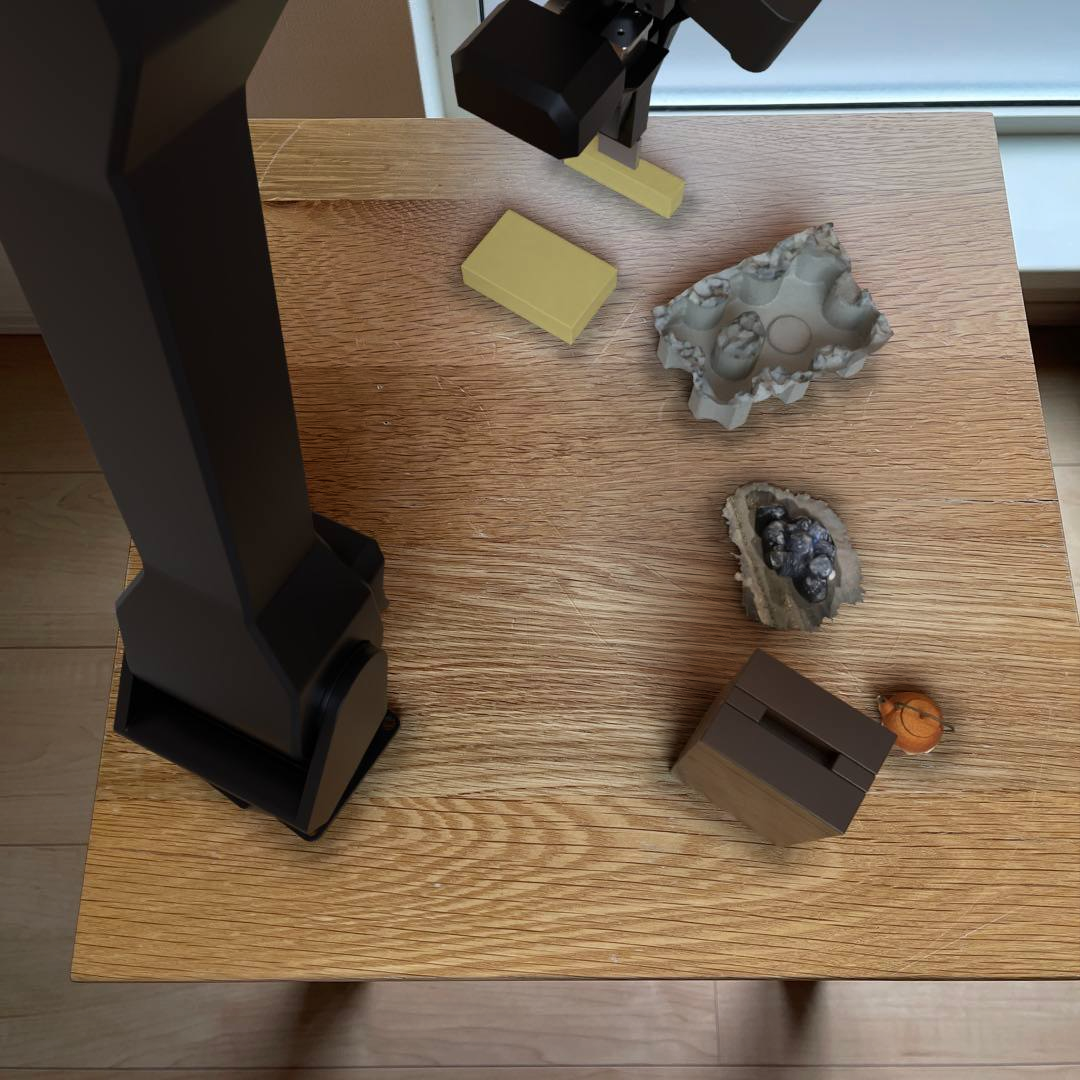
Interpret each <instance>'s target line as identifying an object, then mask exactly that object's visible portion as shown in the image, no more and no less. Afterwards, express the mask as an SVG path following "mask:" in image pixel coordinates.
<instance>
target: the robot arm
mask: <svg viewBox="0 0 1080 1080" xmlns="http://www.w3.org/2000/svg"><path fill="white" fill-rule="evenodd" d="M822 1H823V0H547V1H546V2H545V3H544V4H543V6H542V5H540V4H538V3H537V2H534V1H532V0H503V1H501V2H500V3H498V4H497V5H496V6H495V7H494V8H493V10H491V11H490V13H489V14H488V15H487V16H486V17H485V18H484V19H482V21H481V22H480V23H479V24H478V25H477V27H476V28H474V29H473V30H472V32H471V33H470V34H469V35H468V36H467V37H466V38H465V40H464V41H463V42H461V44H460V45H459V46H458V47H457V48H456V49H455V50H454V51H453V52H452V53H451V55H450V63H451V73H452V80H453V86H454V94H455V99H456V103H457V107H459V108H460V109H462V110H464V111H466V112H467V113H470V114H471V115H473V116H475V117H477V118H479V119H481V120H483V121H484V122H487V123H489V124H490V125H492V126H494V127H496V128H498V129H500V130H502V131H503V132H505V133H507V134H510V135H512V136H513V137H514V138H517V139H519V140H521V141H523V142H525V143H526V144H528V145H530V146H532V147H534V148H536V149H537V150H539V151H541V152H543V153H545V154H547V155H549V156H551V157H553V158H554V159H557V160H559V161H560V160H561V161H562V160H564V159H568V158H574V157H578V156H579V155H580V154H581V153H582V152H583V150H584V149H585V148H586V147H587V146H588V144H589V143H590V142H591V141H592V140H593V138H594V137H595V136H596V135H597V136H598V135H599V133H598V132H599V131H601V132H602V133H604V134H606V135H608V136H610V137H612V138H614V139H617V138H618V137H619V136H620V134H621V132H622V129H623V126H624V123H625V120H626V117H627V113H628V109H629V106H630V102H631V98H632V94H633V92H634V91H636V90H637V89H639V88H640V87H641V86H642V84H643V83H644V82H645V81H646V80H647V78H648V77H649V76H650V75H651V74H652V72H653V71H654V74H653V82H652V86H653V85H654V82H655V80H656V78H657V76H658V73H659V71H660V69H661V67H662V64H663V62H664V60H665V58H667V56H668V54H669V53H670V47H671V44H672V42H673V40H674V38H675V36H676V34H677V31H678V29H679V27H680V25H681V23H682V22H684V21H686V20H688V19H691V20H693V21H694V22H695V23H696V24H697V25H698V26H699V27H700V28H702V29H703V30H704V31H705V32H707V34H708V35H709V36H711V37H712V38H713V39H714V40H715V41H716V42H717V43H718V44H719V45H720V46H722V47H723V48H724V49H725V50H726V51H728V53H729V55H730V59H731V61H733V62H734V63H735V64H736V65H737V66H738V67H740V68H741V69H743V70H744V71H746V72H749V73H753V74H759V73H763V72H766V71H767V70H768V69H769V68H770V67H771V66H772V65H773V64H774V62H775V61H776V60H777V59H778V57H779V56H780V54H781V53H782V52H783V51H784V50H785V48H786V47H787V46H788V45H789V44H790V42H791V41H792V39H794V37H795V36H796V35H797V33H798V32H799V31H800V30H801V28H802V27H803V26H804V25H805V23H806V22H807V21H808V19H809V18H810V17H811V16H812V14H813V13H814V12H815V10H816V9H817V8H818V6H820V4H821V3H822ZM288 3H289V0H0V244H1V246H2V248H3V251H4V253H5V255H6V257H7V259H8V262H9V264H10V266H11V268H12V270H13V274H14V275H15V277H16V279H17V282H18V284H19V286H20V289H21V291H22V293H23V296H24V298H25V300H26V302H27V305H28V307H29V310H30V311H31V313H32V316H33V318H34V321H35V323H36V325H37V327H38V330H39V332H40V334H41V336H42V339H43V341H44V343H45V345H46V348H47V350H48V352H49V355H50V356H51V359H52V361H53V364H54V365H55V368H56V370H57V372H58V374H59V377H60V379H61V382H62V384H63V386H64V388H65V391H66V393H67V396H68V397H69V400H70V402H71V404H72V406H73V409H74V411H75V413H76V416H77V417H78V420H79V422H80V425H81V427H82V429H83V431H84V434H85V435H86V438H87V440H88V442H89V445H90V447H91V449H92V452H93V454H94V456H95V458H96V461H97V463H98V465H99V468H100V470H101V472H102V474H103V477H104V480H105V481H106V483H107V485H108V488H109V490H110V492H111V495H112V497H113V499H114V502H115V504H116V506H117V508H118V511H119V513H120V515H121V517H122V520H123V522H124V524H125V526H126V528H127V531H128V534H129V535H130V537H131V540H132V542H133V545H134V547H135V549H136V551H137V553H138V556H139V558H140V561H141V564H142V568H141V570H139V572H138V573H137V574H136V575H135V577H134V578H133V579H132V581H131V582H130V583H129V584H128V585H127V587H126V588H125V589H124V590H123V591H122V592H121V594H120V595H119V596H118V598H116V600H115V602H114V608H115V614H116V615H115V616H116V620H117V623H118V628H119V632H120V637H121V641H122V646H123V651H122V660H121V668H120V676H119V683H118V688H117V689H118V690H117V698H116V705H115V712H114V720H113V727H112V730H113V732H114V734H117V735H119V736H120V737H123V738H124V739H127V740H128V741H130V742H131V743H134V744H135V745H138V746H140V747H141V748H143V749H145V750H147V751H149V752H151V753H153V754H154V755H156V756H159V757H161V758H162V759H164V760H166V761H167V762H170V763H172V764H173V765H175V766H178V767H179V768H181V769H183V770H185V771H187V772H189V773H190V774H192V775H194V776H196V777H198V778H200V779H202V780H203V781H205V782H206V783H207V784H209V785H210V786H211V787H212V788H214V789H215V790H216V791H218V792H219V793H220V794H222V795H223V796H224V797H225V798H227V799H228V800H229V801H231V802H232V803H233V804H235V805H236V806H238V807H239V808H240V809H241V810H244V811H248V812H252V813H255V814H259V815H260V814H261V815H264V816H268V817H271V818H274V819H276V820H277V821H279V822H280V823H281V824H282V825H284V826H285V827H286V828H287V829H289V830H290V831H292V832H293V833H294V834H295V835H297V836H298V837H300V839H302V840H303V841H306V842H308V843H316V842H319V841H320V840H321V839H323V837H324V836H325V834H326V833H327V832H328V830H329V829H330V828H331V826H332V825H333V823H334V822H335V821H336V819H337V818H338V816H339V815H340V814H341V812H342V811H343V810H344V808H345V807H346V806H347V804H348V803H349V801H350V800H351V798H352V797H353V796H354V795H355V794H356V792H357V791H358V789H360V788H359V787H361V785H362V784H363V782H364V781H365V779H366V778H367V776H368V775H369V774H370V772H371V771H372V770H373V768H374V767H375V765H376V764H377V763H378V761H379V760H380V758H381V757H382V756H383V755H384V753H385V752H386V750H388V748H389V746H390V745H391V744H392V742H394V740H395V739H396V737H397V736H398V734H399V733H400V731H401V729H402V721H401V718H400V717H399V716H398V715H397V714H396V713H395V712H393V711H392V710H390V708H388V674H389V672H388V671H389V670H388V669H389V668H388V667H389V666H388V665H389V657H388V652H387V651H386V650H385V649H383V648H382V647H383V643H384V631H385V628H384V623H383V620H382V616H381V615H383V614H384V613H385V612H386V611H387V610H388V609H389V607H390V605H391V601H390V599H389V598H387V597H386V594H385V589H384V580H385V579H384V578H385V567H386V559H385V556H384V552H383V551H382V549H381V546H380V545H379V542H378V541H377V539H375V538H374V537H372V536H369V535H367V534H365V533H363V532H361V531H358V530H356V529H355V528H352V527H351V526H348V525H346V524H343V523H341V522H340V521H338V520H335V519H333V518H330V517H329V516H326V515H325V514H321V513H320V512H317V511H315V510H313V509H312V507H311V501H310V496H309V489H308V483H307V476H306V470H305V464H304V458H303V452H302V445H301V440H300V432H299V427H298V421H297V414H296V407H295V403H294V395H293V389H292V384H291V378H290V377H291V376H290V371H289V364H288V359H287V353H286V347H285V340H284V334H283V328H282V322H281V315H280V309H279V304H278V297H277V291H276V285H275V278H274V273H273V265H272V262H271V261H272V260H271V253H270V248H269V242H268V235H267V229H266V224H265V217H264V211H263V205H262V199H261V193H260V186H259V181H258V180H259V179H258V174H257V168H256V162H255V155H254V150H253V142H252V136H251V131H250V125H249V117H248V110H247V109H248V106H247V82H248V79H249V78H250V76H251V74H252V72H253V71H254V68H255V66H256V64H257V62H258V60H259V58H260V57H261V55H262V52H263V51H264V49H265V47H266V45H267V43H268V41H269V39H270V37H271V36H272V32H273V31H274V29H275V27H276V26H277V23H278V22H279V20H280V18H281V15H283V12H284V10H285V8H286V7H287V4H288ZM651 26H653V27H655V28H657V29H659V33H658V41H657V44H656V43H654V42H652V41H650V40H648V39H647V37H648V30H649V29H650V28H651ZM389 720H390V721H391V720H392V721H394V725H393V727H391V728H387V727H386V723H387V722H388V721H389ZM315 830H316V832H315V833H314V834H313V835H310V834H311V833H312V832H314V831H315Z"/></svg>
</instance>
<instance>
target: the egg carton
mask: <svg viewBox="0 0 1080 1080" xmlns="http://www.w3.org/2000/svg"><path fill="white" fill-rule="evenodd" d="M834 228H835V225H834V222H830V221H829V222H824V223H823V224H821V225H819V226H814V225H813V226H811V227H809V228H806V229H805V230H803V231H802V232H798V233H794V234H792V235H790V236H788V237H786V238H784V239H783V240H780V241H779V242H777V243H776V244H775V245H773V246H772V248H771V249H770V250H768V251H766V252H763V253H760V254H756V255H751V256H749V257H746V258H743V260H742V261H741V262H740V263H738V264H735V265H733V266H730V267H728V268H725V269H724V270H722V271H719V272H717V273H713V274H709V275H706V276H704V277H703V278H702V279H701V280H699V281H698V282H695V283H694V284H692V285H691V286H690V287H688V288H687V289H686V290H684V291H683V292H682V293H680V294H679V295H677V296H675V297H673V298H672V299H671V300H670V301H669V302H667V303H666V304H665V305H662V304H659V305H657V306H655V307H653V308H652V309H651V310H650V311H649V312H648V313H649V314H650V313H651V314H652V315H653V318H654V327H655V329H656V330H657V332H658V334H659V335H660V336H659V341H658V345H657V350H656V356H657V358H658V359H659V361H660V362H661V365H662V367H663V368H664V369H670V368H673V369H681V370H684V371H685V372H687V373H690V375H691V376H693V378H692V381H693V385H692V389H691V393H690V396H689V398H688V402H687V407H688V408H689V410H690V412H691V414H692V415H693V417H694V419H696V420H702V419H707V420H712V421H713V420H714V421H716V422H718V423H720V424H721V425H722V426H723V427H724V428H725V429H726V431H731V430H734V429H736V428H738V427H740V426H742V425H744V424H745V423H746V421H747V418H748V417H749V414H750V411H751V409H752V405H753V403H754V404H755V403H759V402H762V401H765V400H767V399H768V398H770V397H771V396H773V397H776V398H777V399H779V400H781V401H782V402H783V403H784V404H785V405H789V404H792V403H794V402H796V401H800V400H801V399H802V398H803V397H804V395H805V394H806V391H807V389H808V387H809V385H810V382H811V381H813V380H815V379H818V378H820V377H822V376H826V375H829V374H832V373H835V374H837V375H838V376H839V377H840V378H844V379H846V378H849V377H852V376H853V375H856V374H857V373H858V372H859V371H861V370H862V369H863V367H864V365H865V362H866V360H867V358H868V357H869V356H870V355H872V354H874V353H875V352H877V351H879V350H880V349H881V348H883V347H884V346H885V345H886V344H887V343H888V342H889V340H890V339H892V337H893V336H894V335H895V333H894V331H893V330H892V328H891V326H890V324H889V322H888V319H887V317H886V315H885V313H882V312H880V311H879V310H878V307H877V306H876V305H875V303H874V301H873V298H872V294H871V292H870V291H869V289H868V288H865V289H863V290H862V289H861V288H860V286H859V285H858V283H857V281H855V279H854V278H853V277H852V262H851V259H850V257H849V255H848V251H846V249H845V247H844V246H843V245H842V243H841V242H840V241H839V238H838V236H837V234H836V233H835V231H834Z"/></svg>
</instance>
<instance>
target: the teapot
mask: <svg viewBox="0 0 1080 1080" xmlns="http://www.w3.org/2000/svg"><path fill="white" fill-rule="evenodd" d="M876 701H877V706H878V710H879V712H880V714H881V725H882V726H884V727H886V728H887V729H889V730H890V731H892V732H894V733H895V734H897V735H898V738H897V740H896V741H895V743H894V745H893V747H895V748H898V749H900V750H902V751H903V752H904V753H905V754H906V755H908V756H913V755H923V754H928V753H930V752H931V751H932V750H933V749H935V747H936V746H937V745H938V744H939V743H940V741H941V739H942V738H943V734H944V732H946V733H954V732H956V729H955V726H953V725H951V724H949V723H947V722H946V721H945V720H944V715H943V712H942V710H941V708H939V706H938V705H937V704H936V703H935V701H934V700H933V699H931V698H929V696H927V695H925V694H922V693H918V692H915V691H904V692H903V691H902V692H900V693H897V694H894V695H893V696H892V697H891V698H889V699H887V698H886V697H885V696H881V695H878V696H877V697H876ZM945 727H946V728H949V729H945Z"/></svg>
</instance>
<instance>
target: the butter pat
mask: <svg viewBox="0 0 1080 1080" xmlns="http://www.w3.org/2000/svg"><path fill="white" fill-rule="evenodd" d="M598 137H599V135H598V134H597V135H596V136H595V137H594V138H593V140H592V141H591V142H590V143H589V144H588V146H587V147H586V148H585V149H584V150H583V152H582V153H581V154H580V155H579V156H578V157H574V158H568V159H563V164H564V165H565V166H567V167H569V168H571V169H573V170H575V171H577V172H578V173H580V174H582V175H584V176H586V177H588V178H589V179H592V180H593V181H595V182H596V183H599V184H601V185H603V186H605V187H607V188H608V189H610V190H612V191H615V192H616V193H618V194H620V195H622V196H623V197H626V198H627V199H629V200H631V201H633V202H635V203H637V204H638V205H641V206H643V207H644V208H646V209H648V210H650V211H652V212H653V213H655V214H658V215H660V216H662V217H663V218H665V219H667V220H669V219H670V218H671V217H672V216H673V214H674V213H675V211H677V209H678V208H679V206H680V205H681V204H682V202H683V199H684V193H685V188H686V181H685V180H684V179H682V178H680V177H678V176H676V175H674V174H672V173H670V172H668V171H666V170H664V169H662V168H660V167H659V166H657V165H654V164H653V163H651V162H649V161H647V160H645V159H643V158H641V157H640V160H639V166H638V168H637V169H636V170H633V169H631V168H629V167H627V166H625V165H623V164H621V163H620V162H618V161H616V160H614V159H612V158H610V157H608V156H606V155H604V154H602V153H600V152H599V151H598Z"/></svg>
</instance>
